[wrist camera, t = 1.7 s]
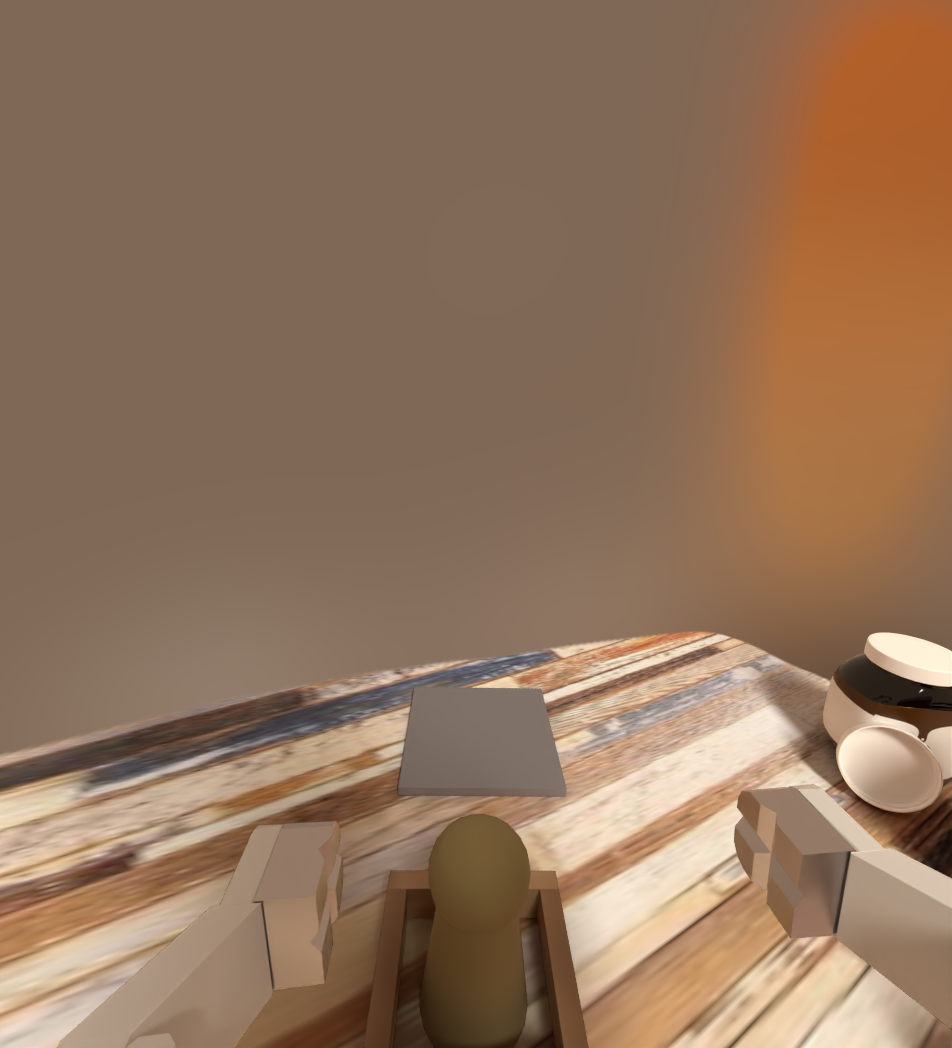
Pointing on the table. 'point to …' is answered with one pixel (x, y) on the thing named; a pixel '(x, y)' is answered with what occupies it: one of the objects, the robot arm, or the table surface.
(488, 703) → the coaster
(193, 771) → the table surface
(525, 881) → the cork
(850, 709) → the spread jar
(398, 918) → the square wooden frame
